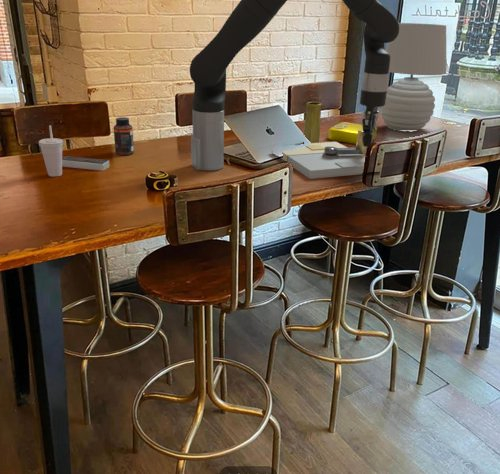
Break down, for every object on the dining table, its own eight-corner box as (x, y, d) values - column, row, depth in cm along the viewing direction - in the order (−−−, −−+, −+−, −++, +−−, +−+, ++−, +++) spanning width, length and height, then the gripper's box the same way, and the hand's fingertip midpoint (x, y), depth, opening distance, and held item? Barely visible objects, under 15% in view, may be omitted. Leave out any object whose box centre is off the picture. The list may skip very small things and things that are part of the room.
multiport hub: (103, 171, 152) (102, 164, 151) (58, 167, 155) (57, 159, 154) (110, 167, 156) (109, 160, 155) (66, 163, 159) (65, 155, 158)
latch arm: (326, 155, 162) (328, 133, 159) (322, 152, 165) (324, 130, 163) (367, 154, 164) (370, 132, 161) (362, 151, 168) (365, 129, 165)
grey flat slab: (310, 179, 151) (311, 169, 149) (272, 153, 175) (272, 144, 173) (381, 172, 159) (382, 163, 157) (335, 148, 183) (336, 140, 181)
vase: (318, 145, 185) (322, 105, 179) (301, 144, 186) (304, 104, 180) (320, 141, 191) (323, 102, 185) (303, 140, 192) (306, 101, 186)
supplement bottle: (138, 153, 169) (135, 118, 165) (122, 156, 165) (119, 121, 161) (127, 149, 173) (124, 115, 168) (111, 153, 169) (108, 118, 164)
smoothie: (53, 179, 143) (46, 129, 138) (38, 175, 146) (30, 125, 141) (71, 173, 148) (66, 124, 143) (56, 169, 151) (50, 121, 146)
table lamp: (386, 119, 230) (400, 22, 213) (443, 129, 217) (463, 25, 200) (361, 129, 211) (374, 23, 194) (423, 140, 198) (442, 27, 181)
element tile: (364, 146, 189) (366, 133, 187) (326, 140, 195) (327, 127, 193) (377, 138, 200) (379, 125, 198) (340, 132, 207) (341, 120, 205)
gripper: (383, 93, 147) (375, 152, 154) (390, 86, 158) (383, 142, 165) (356, 90, 150) (350, 149, 157) (366, 84, 161) (359, 140, 168)
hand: (367, 146), depth 161 cm, fingers closed
